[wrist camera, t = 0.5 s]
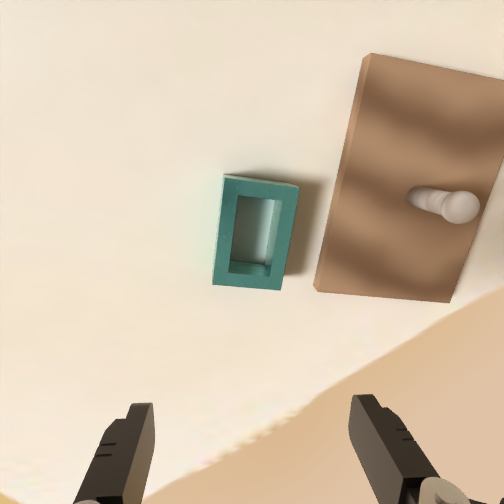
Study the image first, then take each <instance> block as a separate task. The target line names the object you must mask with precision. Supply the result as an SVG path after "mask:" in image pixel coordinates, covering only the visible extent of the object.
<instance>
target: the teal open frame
mask: <svg viewBox="0 0 504 504" xmlns="http://www.w3.org/2000/svg"><path fill="white" fill-rule="evenodd" d="M299 190H300V188H299V187H297V186H295V185H294V184H292V183H285V182H278V181H270V180H263V179H256V178H249V177H241V176H234V175H227V174H224V175H223V184H222V193H221V201H220V210H219V219H218V228H217V237H216V246H215V254H214V263H213V275H212V285H223V286H235V287H246V288H258V289H270V290H281V286H282V281H283V275H284V270H285V265H286V259H287V254H288V249H289V243H290V238H291V233H292V227H293V222H294V216H295V211H296V206H297V200H298V195H299ZM238 195H241V196H249V197H256V198H264V199H272V200H275V204H274V210H273V216H272V222H271V228H270V234H269V240H268V246H267V252H266V258H265V264H256V263H246V262H236V261H230V254H231V246H232V238H233V230H234V223H235V215H236V207H237V199H238Z"/></svg>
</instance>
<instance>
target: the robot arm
mask: <svg viewBox="0 0 504 504" xmlns="http://www.w3.org/2000/svg"><path fill="white" fill-rule="evenodd" d="M348 427H349V436H350V440H351V442H352V445H353V447H354V449H355V452H356V454H357V456H358V458H359V460H360V463H361V465H362V467H363V469H364V471H365V474H366V476H367V478H368V480H369V483H370V485H371V487H372V489H373V491H374V494H375V496H376V498H377V500H378V502H379V504H486V503H482V502H478V501H474V500H471V499H468V498H467V497H466V495H465V494H464V493H463V492H462V491H461V490H460V489H459V488H458V487H457V486H455V485H454V484H452V483H451V482H449V481H447V480H445V479H442V478H440V476H439V475H438V473H437V472H436V470H435V469H434V467H433V466H432V465H431V463H430V462H429V460H428V459H427V457H426V456H425V454H424V453H423V451H422V450H421V448H420V447H419V445H418V444H417V442H416V441H414V438H413V437H412V435H411V434H410V432H409V431H407V428H406V426H405V425H404V423H403V422H402V421H401V419H400V418H399V417H398V416H397V415H396V414H395V413H393V412H392V411H391V410H390V409H389V408H382V407H381V406H380V404H379V403H378V401H377V399H376V398H375V396H373V395H372V394H363V395H353V397H352V402H351V410H350V417H349V426H348ZM154 445H155V427H154V414H153V404H152V403H133V404H131V406H130V409H129V411H128V414H127V416H126V419H115V421H114V422H113V423H112V424H111V425H110V426H109V427H108V428H107V429H106V430H105V432H104V434H103V437H102V439H101V441H100V444H99V446H98V448H97V450H96V453H95V456H94V458H93V460H92V462H91V464H90V466H89V469H88V471H87V473H86V475H85V478H84V480H83V482H82V485H81V487H80V489H79V491H78V494H77V496H76V498H75V500H74V502H73V504H141V502H142V498H143V493H144V489H145V485H146V481H147V477H148V473H149V469H150V464H151V460H152V456H153V452H154ZM500 504H504V498H502V500H501V501H500Z"/></svg>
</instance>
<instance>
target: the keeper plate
mask: <svg viewBox="0 0 504 504" xmlns="http://www.w3.org/2000/svg"><path fill="white" fill-rule="evenodd" d="M503 157H504V80H499V79H495V78H490V77H485V76H480V75H475V74H471V73H466V72H461V71H456V70H451V69H447V68H442V67H437V66H432V65H427V64H423V63H418V62H413V61H408V60H403V59H399V58H394V57H389V56H384V55H380V54H375V53H371V54H369V55H367V56H366V57H364V58H363V61H362V65H361V70H360V74H359V79H358V83H357V88H356V93H355V97H354V102H353V106H352V111H351V115H350V120H349V124H348V129H347V133H346V138H345V143H344V147H343V152H342V156H341V161H340V165H339V170H338V174H337V179H336V183H335V188H334V193H333V197H332V202H331V206H330V211H329V215H328V220H327V224H326V229H325V233H324V238H323V243H322V247H321V252H320V256H319V261H318V265H317V270H316V274H315V279H314V283H313V286H314V287H315V289H316V290H317V292H325V293H336V294H348V295H360V296H371V297H383V298H394V299H406V300H418V301H429V302H441V303H450V300H451V298H452V295H453V292H454V290H455V287H456V284H457V281H458V279H459V276H460V273H461V271H462V268H463V265H464V263H465V260H466V257H467V254H468V252H469V249H470V246H471V244H472V241H473V238H474V236H475V233H476V230H477V227H478V225H479V222H480V219H481V217H482V214H483V211H484V208H485V206H486V203H487V200H488V198H489V195H490V192H491V190H492V187H493V184H494V181H495V179H496V176H497V173H498V171H499V168H500V165H501V163H502V160H503Z"/></svg>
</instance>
